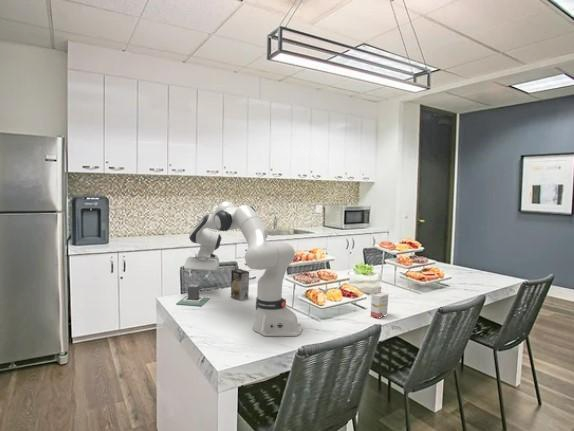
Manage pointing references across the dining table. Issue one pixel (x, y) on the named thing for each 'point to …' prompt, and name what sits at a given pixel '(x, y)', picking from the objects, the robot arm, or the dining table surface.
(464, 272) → the dining table surface
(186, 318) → the dining table surface
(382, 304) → the ink cartridge box
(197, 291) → the plug
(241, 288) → the coffee box
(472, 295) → the dining table surface
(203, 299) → the board
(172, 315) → the dining table surface
